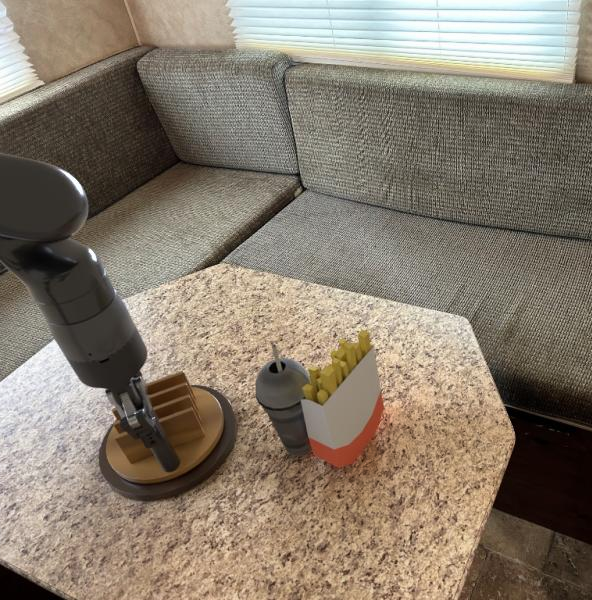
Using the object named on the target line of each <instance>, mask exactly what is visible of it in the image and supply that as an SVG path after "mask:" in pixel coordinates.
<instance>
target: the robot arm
mask: <svg viewBox="0 0 592 600" xmlns="http://www.w3.org/2000/svg"><path fill="white" fill-rule="evenodd" d="M89 210H90V209H89V200H88V196H87V193H86V191H85V189H84V187H83V186H82V184H81V183H80V181H79V180H78V179H77V178H75V176H74V175H72V174H71V173H70V172H69V171H67V170H65V169H64V168H62V167H59V166H57V165H55V164H52V163H49V162H44V161H40V160H36V159H32V158H26V157H22V156H18V155H12V154H8V153H3V152H0V263H1V264H2V265H3V266H4V267H5V268H6V269H7V270H8V271H9V272H10V273H11V274H13V275H14V276H15V277H16V278H17V279H18V280H19V281H20V283H22V284H23V285H24V286H25V287H26V289H27V291H28V294H29V295H30V297H31V298H32V300H33V302H34V303H35V305H36V306H37V309H38V310H39V311H40V313H41V314H42V316H43V318H44V320H45V321H46V323H47V326H48V329H49V332H50V334H51V335H52V337H53V339H54V341H55V342H56V344H57V346H58V347H59V349H60V351H61V352H62V354H63V355H64V357H65V359H66V361H67V362H68V363H69V365H70V367H71V368H72V370H73V372H74V374H75V375H76V376H77V378H78V380H79V381H80V383H82V384H83V385H85V386H86V387H90V388H94V389H104V393H105V396H106V397H107V400H108V402H109V403H110V404H111V405H114V408H116V409H117V411H118V413H119V415H120V417H121V419H120V426H121V427H122V428H123V429H124V430H125V431H126V432H127V433H128V434H129V435H130V436H131V437H132V438H133V439H134V440H137V439H139V438H141V440H142V442H143V443H144V445H145V447H146V448H152V447H154V446H157V445H159V444H161V443H163V442H164V438H163V435H162V433H161V431H160V430H159V428H158V426H157V424H156V422H155V421H156V420H155V417H153V415H152V413H151V410H153V412H154V414H155V416H156V417H157V415H156V413H155V411H154V409H153V407H152V405H151V401H150V396H149V395H148V394H147V391H148V389H147V385H146V384H147V382H146V380H145V378H144V376H143V372H142V368H143V367H144V365H145V364H146V362H147V358H148V348H147V346H146V343H145V342H144V340H143V337H142V336H141V333H140V331H139V330H138V328H137V325H136V323H135V321H134V319H133V317H132V315H131V314H130V312H129V310H128V308H127V306H126V304H125V302H124V300H123V299H122V298H121V296H120V295H119V294H118V292H117V290H116V289H115V287H114V285H113V282H112V281H111V278H110V276H109V275H108V273H107V271H106V269H105V266H104V265H103V263H102V261H101V260H100V257H99V256H98V254H97V253H96V252H95V250H93V249H92V248H91V247H90V246H88V245H86V244H85V243H82V242H80V241H78V240H76V239H73V238H72V237H73V236H74V235H76V234H77V233H78V232H79V231H80V230H81V229H82V228H83V226H84V225H85V223H86V221H87V218H88V215H89ZM157 419H158V417H157ZM158 421H159V419H158Z"/></svg>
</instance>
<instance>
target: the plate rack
mask: <svg viewBox="0 0 592 600" xmlns="http://www.w3.org/2000/svg"><path fill="white" fill-rule="evenodd" d="M146 385H147V389H148V391H147V394H148V395H149V396H150V401H151V405H152V407H153V409H154V411H155V413H156V415H157V417H158V419H159V421H158V419H157V417H156V416H155V414H154V412H153V410H151V413H152V415H153V417H155V420H156V421H155V422H156V424H157V426H158V428H159V430H160V431H161V433H162V435H163V438H164V442H163V443H161V444H159V445H157V446H154V447H152V448H146V447H145V445H144V443H143V442H142V440H141V438H139V439H137V440H134V439H133V438H132V437H131V436H130V435H129V434H128V433H127V432H126V431H125V430H124V429H123V428H122V427H121V426H120V419H121V417H120V415H119V413H118V411H117V409H116V407H114V408H111V411H112V414H113V416H114V417H115V420H116V419H117V421H115V420H114V421H112V424H113V425H114V426H113V428H112V430H111V432H110V434H109V437H108V440H107V445H106V454H107V459H108V461H109V463H110V465H111V466H112V468H113V469H114V471H115V472H116V473H117V474H118V475H119V476H121V477H122V478H124V479H126V480H128V481H132V482H135V483H143V484H144V483H158V482H163V481H167V480H170V479H173V478H175V477H178V476H180V475H182V474H184V473H186V472H187V471H189V470H191V469H192V468H194V467H195V466H197V465H198V464H199V463H200V462H202V461H203V460H204V459H205V458H206V457H207V456H208V455H209V454H210V452H211V451H212V450H213V449H214V447H215V446H216V444H217V443H218V441H219V439H220V436H221V434H222V431H223V426H224V416H223V411H222V409H221V406H220V404H219V402H218V401H217V399H216V398H215V397H214V396H213V395H211V394H210V393H209V392H207V391H205V390H202V389H199V388H195V387H191V385H192V384H191V383H190V381H189V379H188V377H187V375H186V373H185V371H184V370H180V371H178V372H175V373H172V374H169V375H167V376H164V377H161V378H159V379H155V380H153V381H149V382H146Z"/></svg>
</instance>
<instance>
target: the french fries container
mask: <svg viewBox="0 0 592 600" xmlns="http://www.w3.org/2000/svg"><path fill="white" fill-rule="evenodd" d="M370 335H371V334H370V331H368V330H364V329H361V330H360V331H359V332H358V334H357V339H358V342H356V341H353V342H349V341H348V340H347V339H346V338H344V337H342V338H341V339H339V340H338V345H339V347H340V348H338V349H332V351H331V352H330V353H329V354H330V358H331V363H329V364H328V365H324V366H323V368H321V370H320V368H319V367H318V366H315V365H311V366H310V367H308V374H309V376H310V382H311V386H310V385H309V384H306V385H305V386H304V387H303V388H302V389H303V392H304V395H305V397H306V399H301V404H302V409H303V414H304V418H305V423H306V428H307V433H308V438H309V441H310V444H311V447H312V453H313V456H315V457H316V458H319V459H320V460H322V461H324V462H325V463H326V462H327V463H328V464H330V465H332V466H334V467H336V468H343V467H346V466H349V465H352V464H354V463H355V462H356V461H357V460H358V458H359V457H360V455H361V454H362V453H363V451H364V450H365V449H366V447H367V446H368V445H369V443H370V442H371V440H372V439H373V438H374V437H375V435H376V434H377V431H378V428H379V425H380V421H381V419H382V416H383V413H384V410H385V406H384V401H383V395H382V388H381V382H380V376H379V368H378V363H377V358H376V357H377V356H376V353H375V346H374V345H373V344H371V336H370Z"/></svg>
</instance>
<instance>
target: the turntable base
mask: <svg viewBox="0 0 592 600" xmlns="http://www.w3.org/2000/svg"><path fill="white" fill-rule="evenodd" d="M190 385H191V387H195V388H199V389H202V390H205V391H207V392H209V393H210V394H211V395H213V396H214V397H215V398H216V399H217V401H218V402H219V404H220V406H221V409H222V411H223V416H224V426H223V431H222V434H221V436H220V439H219V441H218V443H217V444H216V446H215V447H214V449H213V450H212V451H211V452H210V454H209V455H208V456H207V457H206V458H205V459H204V460H203V461H202V462H200V463H199V464H198V465H197V466H195V467H194V468H192V469H191V470H189V471H187V472H186V473H184V474H182V475H180V476H178V477H175V478H173V479H170V480H167V481H163V482H158V483H144V484H143V483H135V482H132V481H128V480H126V479H124V478H122V477H121V476H119V475H118V474H117V473H116V472H115V471H114V469H113V468H112V466H111V465H110V463H109V461H108V459H107V454H106V445H107V440H108V437H109V434H110V432H111V430H112V428H113V426H114V425H113V423H112V424H111V426H109V428H108V430H107V431H106V433H105V435H104V436H103V438H102V441H101V443H100V447H99V450H98V467H99V471H100V474H101V475H102V477H103V479H104V481H105V482H106V483H107V485H108V486H109V487H110V488H111V490H113V491H114V492H115V494H117V495H119V496H121V497H123V498H126V499H129V500H132V501H137V502H157V501H163V500H168V499H171V498H175V497H178V496H180V495H182V494H185V493H187V492H190V491H191V490H193V489H195V488H196V487H198V486H200V485H202V484H203V483H204V482H205V481H207V480H208V479H210V478H211V477H212V476H213V475H214V474H215V473H216V472H217V471H218V470H219V469H220V468H221V467H222V465H223V464H224V463H225V462H226V461H227V459H228V458H229V456H230V454H231V452H232V450H233V449H234V446H235V444H236V441H237V436H238V432H239V431H238V429H239V424H238V423H239V422H238V418H237V414H236V412H235V409H234V407H233V405H232V403H231V402H230V400H229V399H228V397H226V396H225V395H224V394H223V393H222V392H221V391H219V390H217V389H215V388H212V387H210V386H205V385H201V384H190ZM115 421H117V419H116V418H115V420H114V422H115Z"/></svg>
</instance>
